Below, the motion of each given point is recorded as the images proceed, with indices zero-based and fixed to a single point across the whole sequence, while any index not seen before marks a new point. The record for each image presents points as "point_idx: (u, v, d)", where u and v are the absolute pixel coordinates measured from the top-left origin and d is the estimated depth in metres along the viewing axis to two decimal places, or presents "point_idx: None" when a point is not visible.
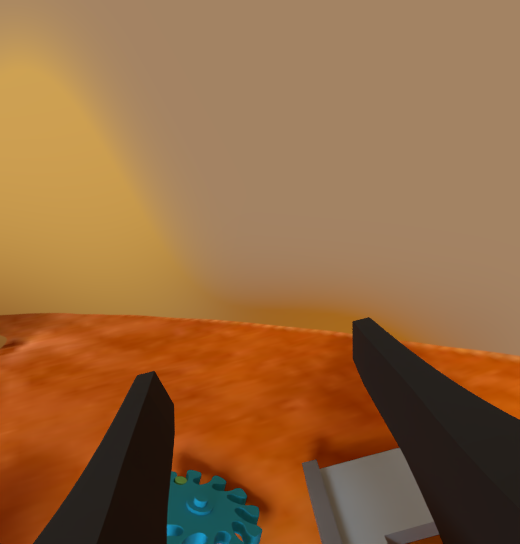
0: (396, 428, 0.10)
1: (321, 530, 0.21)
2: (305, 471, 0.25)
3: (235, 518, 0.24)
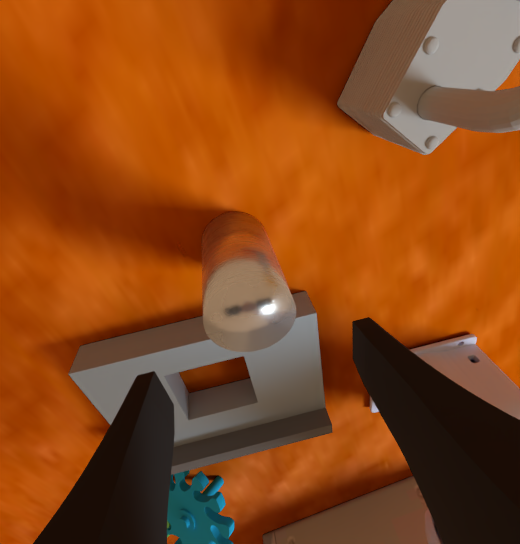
0: (396, 428, 0.10)
1: (195, 467, 0.25)
2: None
3: (190, 494, 0.29)
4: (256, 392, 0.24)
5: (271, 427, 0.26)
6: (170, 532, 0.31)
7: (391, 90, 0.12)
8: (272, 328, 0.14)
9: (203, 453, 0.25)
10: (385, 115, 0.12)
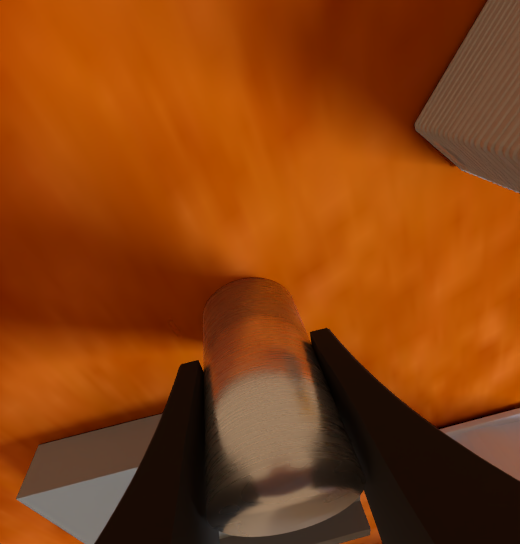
0: None
1: None
2: None
3: None
4: None
5: None
6: None
7: None
8: (322, 507, 0.08)
9: None
10: None
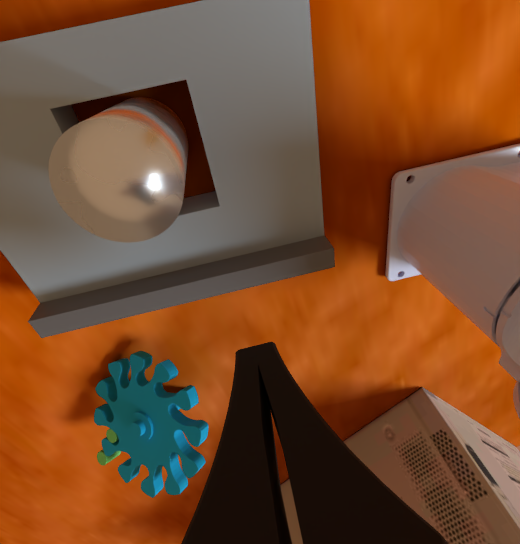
0: None
1: (127, 315, 0.17)
2: (53, 333, 0.16)
3: (150, 389, 0.21)
4: (215, 181, 0.15)
5: (243, 259, 0.17)
6: (117, 448, 0.23)
7: None
8: (152, 209, 0.11)
9: (138, 291, 0.16)
10: None
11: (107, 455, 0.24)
